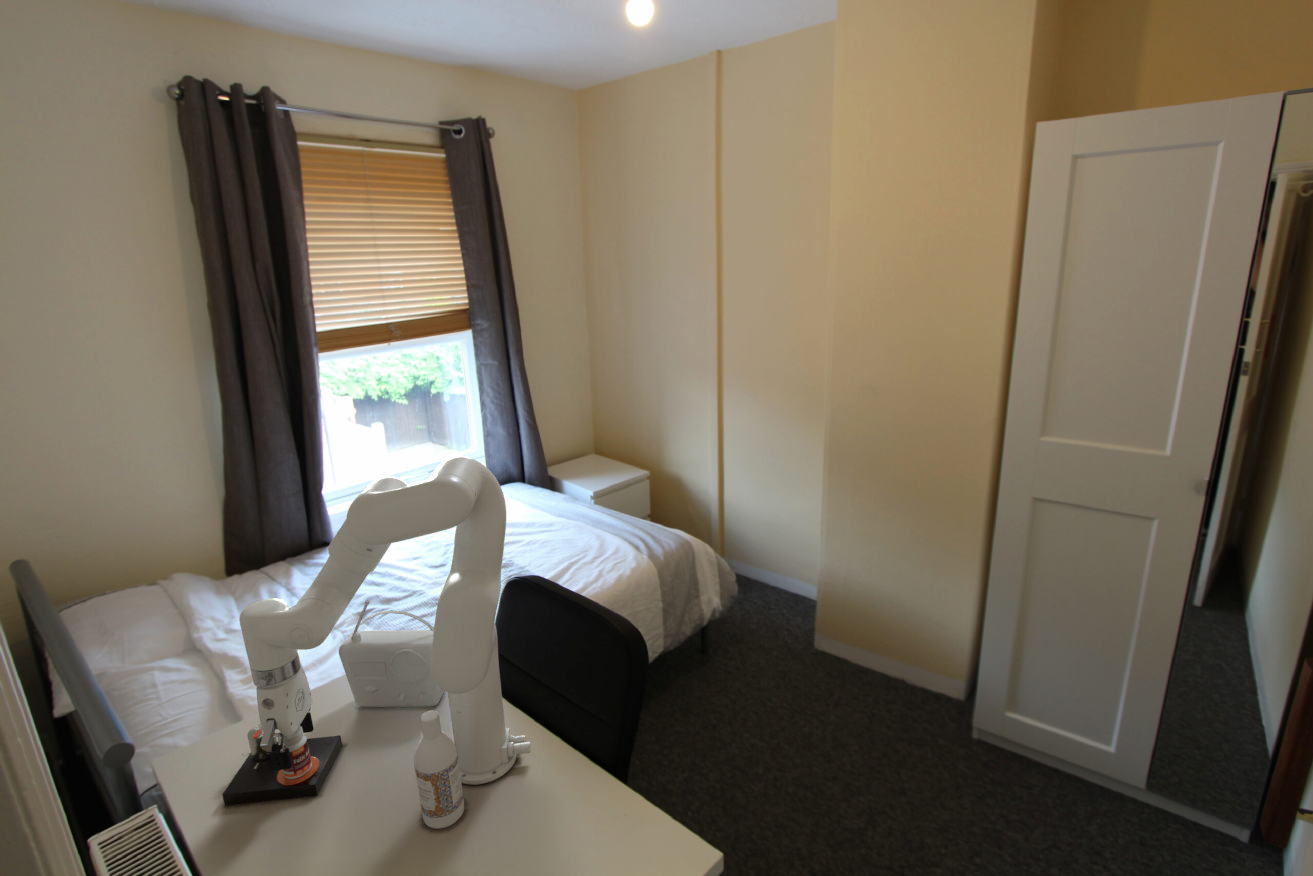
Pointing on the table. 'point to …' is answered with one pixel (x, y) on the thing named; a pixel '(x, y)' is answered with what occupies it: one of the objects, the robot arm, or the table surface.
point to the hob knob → (257, 743)
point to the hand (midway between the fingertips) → (294, 749)
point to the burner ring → (286, 781)
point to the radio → (390, 666)
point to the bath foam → (438, 774)
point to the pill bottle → (297, 754)
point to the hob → (261, 779)
